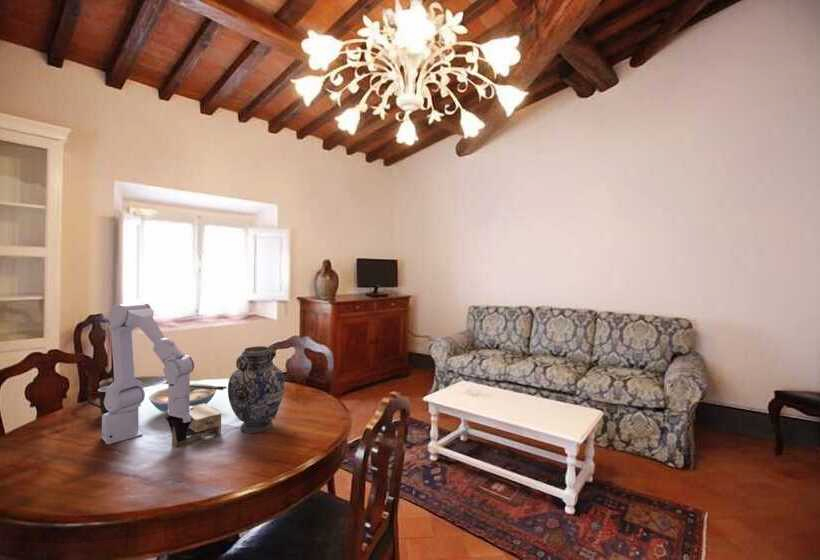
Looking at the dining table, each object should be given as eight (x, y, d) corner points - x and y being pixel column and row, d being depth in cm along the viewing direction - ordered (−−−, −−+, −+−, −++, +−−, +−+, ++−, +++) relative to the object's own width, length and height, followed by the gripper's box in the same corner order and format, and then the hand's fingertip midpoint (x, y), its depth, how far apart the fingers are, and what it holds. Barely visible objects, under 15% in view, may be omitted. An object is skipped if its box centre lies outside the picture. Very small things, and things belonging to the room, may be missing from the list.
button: (204, 441, 123) (204, 438, 123) (199, 438, 125) (199, 434, 125) (217, 437, 126) (217, 434, 126) (211, 434, 128) (211, 430, 128)
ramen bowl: (130, 419, 139) (130, 397, 139) (178, 399, 161) (178, 380, 161) (190, 425, 134) (190, 403, 134) (231, 403, 157) (231, 384, 157)
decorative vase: (263, 442, 122) (263, 355, 122) (212, 437, 126) (212, 353, 126) (296, 418, 143) (296, 343, 143) (251, 414, 147) (251, 341, 147)
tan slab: (196, 442, 122) (196, 420, 122) (179, 429, 132) (179, 409, 131) (222, 434, 128) (222, 413, 128) (204, 422, 138) (204, 403, 137)
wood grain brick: (176, 447, 118) (177, 428, 118) (171, 445, 119) (172, 426, 119) (215, 433, 129) (215, 415, 128) (210, 431, 130) (210, 413, 130)
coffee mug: (132, 410, 148) (132, 385, 147) (113, 419, 139) (113, 392, 139) (105, 409, 149) (105, 383, 149) (84, 417, 140) (84, 390, 140)
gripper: (201, 398, 118) (201, 441, 118) (184, 388, 127) (184, 428, 127) (176, 403, 112) (176, 449, 113) (160, 393, 122) (160, 435, 122)
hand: (178, 438), depth 120 cm, fingers closed on wood grain brick, 3 cm apart
